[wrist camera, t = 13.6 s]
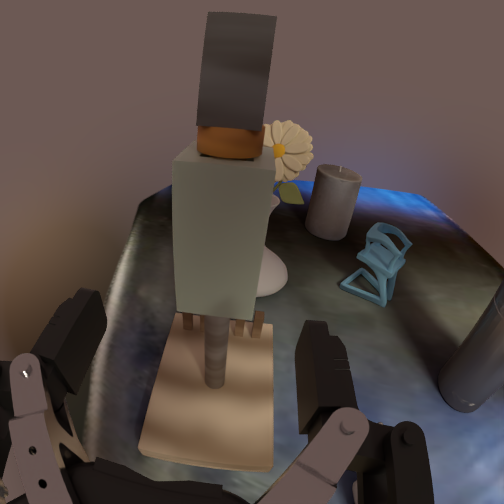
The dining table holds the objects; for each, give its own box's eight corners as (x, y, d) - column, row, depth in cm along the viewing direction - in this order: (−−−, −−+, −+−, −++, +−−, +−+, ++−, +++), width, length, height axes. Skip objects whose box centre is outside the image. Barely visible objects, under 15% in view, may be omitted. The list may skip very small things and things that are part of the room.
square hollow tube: (191, 266, 23) (194, 139, 18) (254, 274, 23) (273, 147, 18) (176, 311, 19) (172, 160, 13) (252, 320, 19) (276, 170, 14)
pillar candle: (300, 217, 68) (312, 156, 59) (338, 220, 69) (353, 162, 60) (310, 239, 60) (326, 170, 51) (352, 242, 61) (372, 177, 52)
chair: (378, 314, 42) (408, 251, 36) (338, 287, 47) (360, 223, 41) (396, 294, 47) (423, 236, 40) (359, 271, 52) (380, 213, 45)
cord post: (177, 326, 36) (178, 39, 19) (269, 337, 37) (325, 53, 19) (143, 455, 21) (27, -5, 4) (268, 472, 22) (453, 12, 4)
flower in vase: (201, 269, 47) (209, 108, 33) (257, 252, 53) (278, 110, 40) (246, 322, 39) (275, 126, 25) (307, 295, 45) (349, 131, 31)
